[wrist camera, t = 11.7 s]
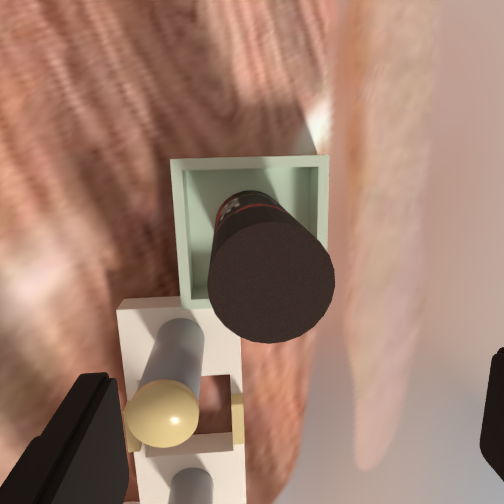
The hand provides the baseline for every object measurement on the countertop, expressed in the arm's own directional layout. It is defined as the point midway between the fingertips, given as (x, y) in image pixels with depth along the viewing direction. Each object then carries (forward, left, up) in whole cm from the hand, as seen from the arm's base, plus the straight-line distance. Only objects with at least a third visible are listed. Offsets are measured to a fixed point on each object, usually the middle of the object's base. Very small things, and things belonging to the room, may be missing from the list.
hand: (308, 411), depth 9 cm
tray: (0, 0, -24) cm, 24 cm away
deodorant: (0, 0, -24) cm, 24 cm away
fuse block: (+17, -6, -24) cm, 30 cm away
